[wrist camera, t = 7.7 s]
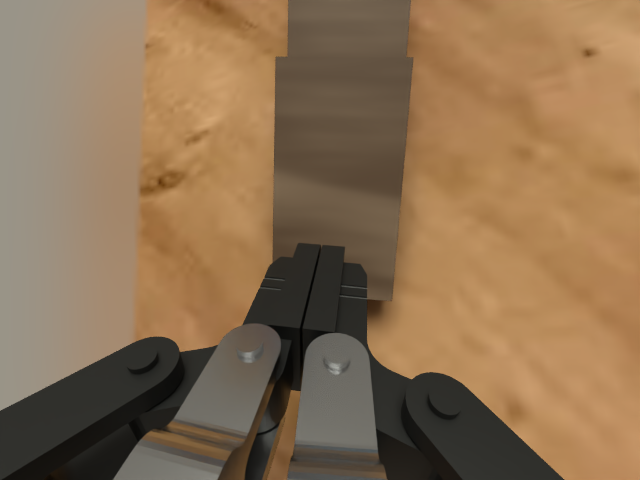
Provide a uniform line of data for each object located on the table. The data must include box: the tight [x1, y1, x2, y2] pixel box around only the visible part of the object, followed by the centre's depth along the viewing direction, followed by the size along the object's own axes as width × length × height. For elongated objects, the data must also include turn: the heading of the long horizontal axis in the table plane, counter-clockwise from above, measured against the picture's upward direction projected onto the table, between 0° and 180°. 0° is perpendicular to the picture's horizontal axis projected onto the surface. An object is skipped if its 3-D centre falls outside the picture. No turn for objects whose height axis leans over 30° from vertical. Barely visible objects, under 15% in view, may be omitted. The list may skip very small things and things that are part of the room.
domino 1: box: [288, 0, 411, 57], centre depth 17 cm, size 2×6×11 cm
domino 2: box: [273, 57, 413, 301], centre depth 16 cm, size 2×6×11 cm
